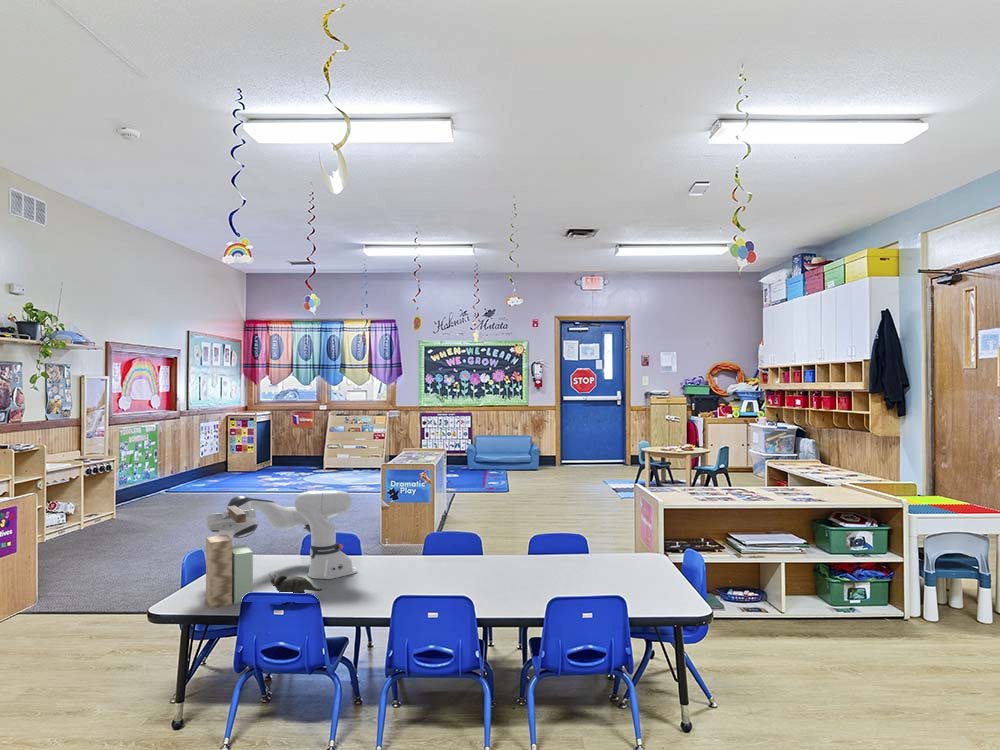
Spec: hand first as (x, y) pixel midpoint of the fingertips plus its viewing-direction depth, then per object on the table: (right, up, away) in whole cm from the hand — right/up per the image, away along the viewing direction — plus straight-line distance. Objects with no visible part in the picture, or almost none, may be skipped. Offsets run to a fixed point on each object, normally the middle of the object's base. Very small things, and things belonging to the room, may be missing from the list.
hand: (234, 511), depth 278 cm
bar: (+2, -2, -4) cm, 5 cm away
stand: (0, -34, -15) cm, 37 cm away
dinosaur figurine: (+30, -34, -14) cm, 48 cm away
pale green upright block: (+6, -34, -9) cm, 36 cm away
